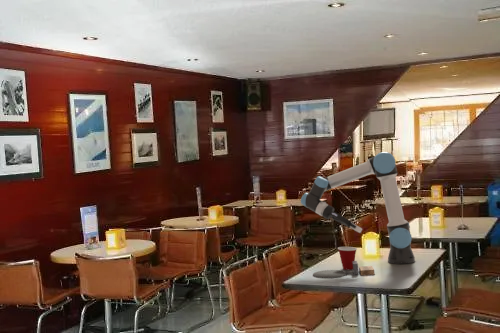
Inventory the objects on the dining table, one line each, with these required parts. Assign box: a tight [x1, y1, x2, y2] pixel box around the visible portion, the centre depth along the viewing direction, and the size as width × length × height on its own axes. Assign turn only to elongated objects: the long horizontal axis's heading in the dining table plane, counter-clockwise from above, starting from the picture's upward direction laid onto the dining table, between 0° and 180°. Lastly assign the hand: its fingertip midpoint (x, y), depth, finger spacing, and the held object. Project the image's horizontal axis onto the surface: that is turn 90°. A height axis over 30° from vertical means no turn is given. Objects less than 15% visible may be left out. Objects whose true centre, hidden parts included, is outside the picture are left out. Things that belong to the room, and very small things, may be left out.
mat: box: [312, 269, 347, 279], centre depth 304 cm, size 18×18×1 cm
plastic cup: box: [337, 246, 358, 271], centre depth 315 cm, size 11×11×12 cm
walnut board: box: [358, 265, 375, 276], centre depth 302 cm, size 7×10×3 cm
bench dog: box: [352, 260, 359, 276], centre depth 302 cm, size 2×8×6 cm, turn 173°
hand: (361, 230), depth 309 cm, fingers closed
